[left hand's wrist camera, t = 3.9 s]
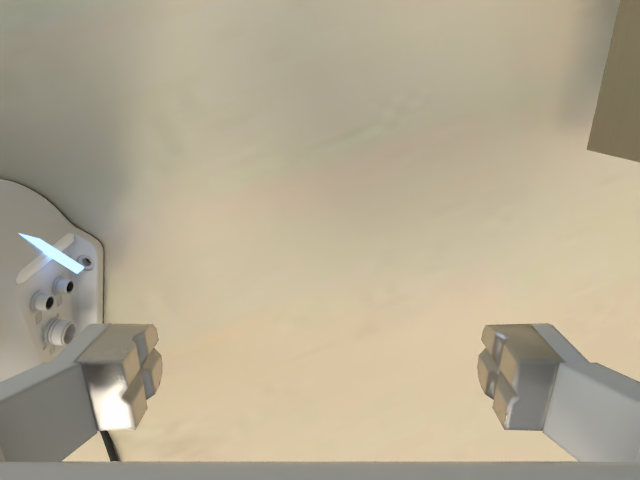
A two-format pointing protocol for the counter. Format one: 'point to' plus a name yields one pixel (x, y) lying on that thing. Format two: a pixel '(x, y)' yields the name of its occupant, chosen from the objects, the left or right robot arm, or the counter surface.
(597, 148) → the bar
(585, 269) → the counter surface
